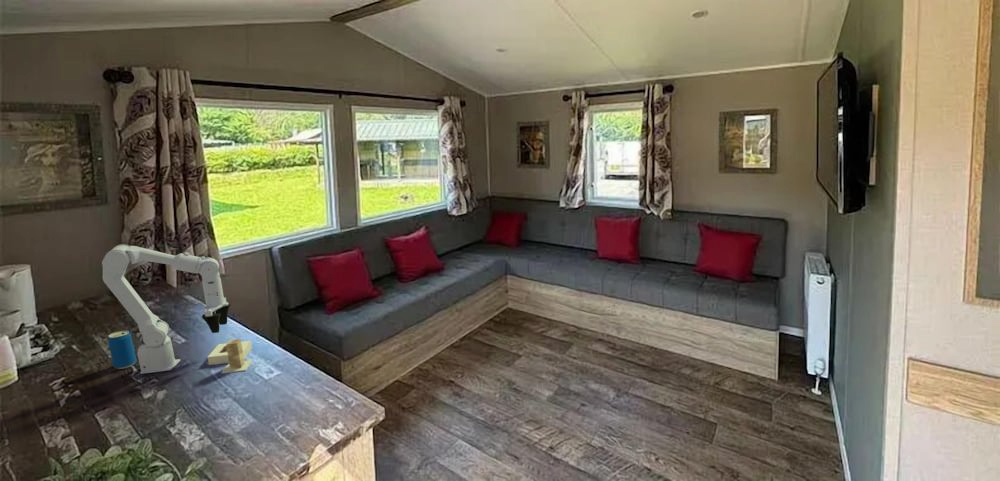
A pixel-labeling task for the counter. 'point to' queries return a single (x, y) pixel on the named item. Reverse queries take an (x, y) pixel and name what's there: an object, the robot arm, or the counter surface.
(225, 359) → the cream square frame
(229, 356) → the wood grain block
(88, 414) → the counter surface
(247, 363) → the rubber mat
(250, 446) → the counter surface
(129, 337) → the beverage can
